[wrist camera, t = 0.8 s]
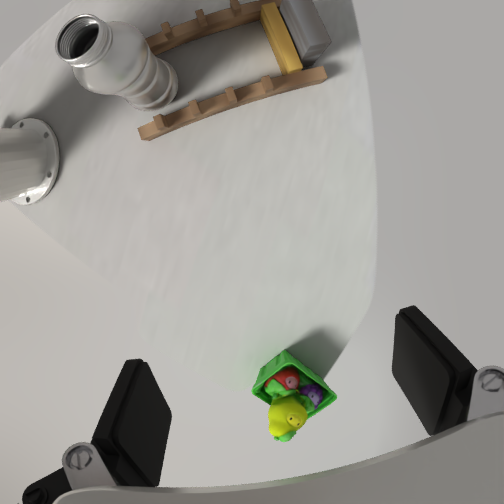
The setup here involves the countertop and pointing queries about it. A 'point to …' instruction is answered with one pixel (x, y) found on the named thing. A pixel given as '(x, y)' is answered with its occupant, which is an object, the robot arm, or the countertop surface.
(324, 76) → the wooden peg rack
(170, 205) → the countertop surface
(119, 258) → the countertop surface
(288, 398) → the fruit basket
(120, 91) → the grey bulging hollow cylinder
